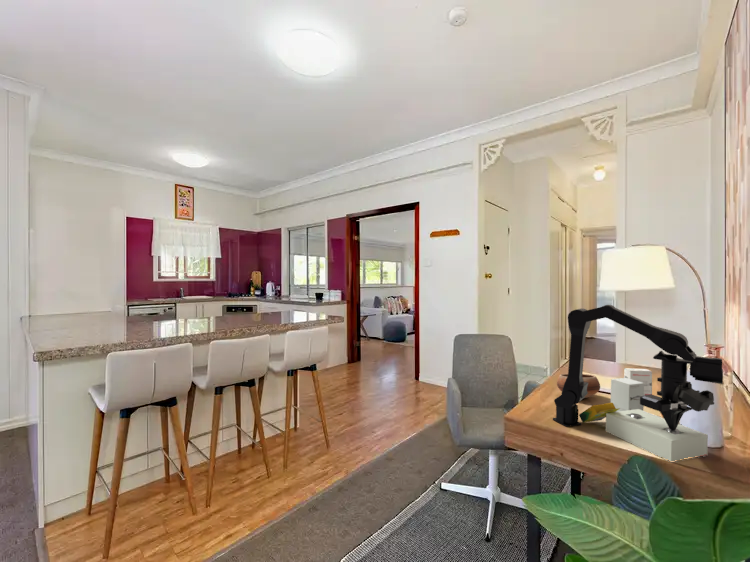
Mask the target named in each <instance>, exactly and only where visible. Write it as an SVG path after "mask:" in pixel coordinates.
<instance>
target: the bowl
mask: <svg viewBox="0 0 750 562" xmlns="http://www.w3.org/2000/svg"><path fill="white" fill-rule="evenodd" d="M567 376H568V373H560V374H559V376H558V377H557V380H556V386H557V387H558V390H560V391H561V392H562V390H563V386H564V383H565V381H566V379H567ZM582 377H583V381H584V382H588V386H587V392H588V394H587V395H586V396H585V397H584V398H583V399H586V398H589V397H593V396H595V395H596V394H597V393H598V392H599V391H600V389H601V384H600V382H599V379H598V378H597V376H595V375H593V374H588V373H582Z"/></svg>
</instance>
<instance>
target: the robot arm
mask: <svg viewBox="0 0 750 562" xmlns="http://www.w3.org/2000/svg"><path fill="white" fill-rule="evenodd" d="M605 318H606V319H609V320H611V321H612V322H614V323H617V324H619V325H621V326H623V327H624V328H627V329H629V330H630V331H632V332H635V333H637V334H639V335H641V336H642V337H645V338H646V339H648V340H649V341H650V342H652V344H654V345H655V346H657V347H658V348H660V349H661V350H659V352H658V353H656V354H654V355H653V357H652V359H654V360H658V361H661V363H660V364H661V370H660V375H661V376H659V377H657V378H656V379H657V380H656V381H657V382H659V383H660V390H658V391H656V395H655V394H653V393H652V394H651V395H643V396H641V397H640V405H643V406H644V407H646V408H649V409H652V410H654V411H657V412H660V414H661V415H662V418H664V419H665V421H666V423H667V425H668V427H669V429H671V430H676V428H677V426H678V424H680V421H681V419H682V418H683V415H684V414H685V413H687V412H689V411H696V412H702V411H708V410H709V408H710V406H712V405H715V402H714V401H715V397H714V396H715V395H714V393H713V392H712V391H710V390H708V389H707V390H702V391H700V390H696V389H693V387H692V386H693V385H692V383H691V381H688V364H689V376H691V377H692V378H694V380H695V381H700V382H706V383H712V384H719V385H724V383H723V381H724V369H723V359H722V358H720V357H719V358H718V357H706V356H697V354H696V352H695V351H693V350H692V348H691V347H690V346H689V341H688V340H689V339H687V336H685V335H684V334H682V333H679V332H677V331H674V330H671V329H668V328H663V327H659V326H656V325H653V324H651V323H649V322H646V321H645V320H642V319H640V318H639V317H636V316H633V315H631V314H630V313H627V312H625V311H623V310H621V309H619V308H617V307H616V306H614V305H611V304H604V305H601V306H600V307H595V308H591V309H587V308H578V309H574V310H571V311H570V312H569V313H568V314H567V324H568V330H569V333H570V345H569V346H570V347H569V358H568V369H567V374H568V376H567V379H566V381H565V383H564V386H563V390H562V391H561V394H560V395H559V396H557V397H556V398H554V399H553V401H554V404H555V406H556V409H555V417H552V421H555V422H557V423H558V424H560V425H563V426H564V427H567V428H568V427H569V428H570V427H574V426H581V425H582V422H579V405H577V404H579V402H581V401H582V400H583V399H585V398H584V397H585V396H586V395H587V394H588V392H587V386H588V382H584V381H583V377H582V374H584V373H583V372H584V361H585V360H584V359H585V347H586V338H587V334H588V332H589V329H590V326H591V323H592V322H593V321H597V320H601V319H605ZM663 351H664V352H666V353H664V352H663Z"/></svg>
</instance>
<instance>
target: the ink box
mask: <svg viewBox="0 0 750 562" xmlns="http://www.w3.org/2000/svg"><path fill="white" fill-rule="evenodd" d="M623 370H624V371H623V373H624V374H623V378H628V379H632V380H635V381H639V382H642V383H644V395H651V394H652V395H653V371H651V370H649V369H647V368H633V367H632V368H631V367H630V368H629V367H628V368H626V367H625V368H624V369H623Z"/></svg>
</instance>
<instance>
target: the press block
mask: <svg viewBox="0 0 750 562" xmlns="http://www.w3.org/2000/svg"><path fill="white" fill-rule="evenodd" d="M631 413H635V414H639V415H641V416H642V419H635V418H633V417H630V414H631ZM667 427H668V425H667V423H666V421H665V419H664V417H661V416H659V415H656V414H653V413H651V412H647V411H645V410H644V409H643V410H640V409H635V410H627V411H619V412H611V413H606V417H605V432H606V431H607V433H608V432H609V434H610V433H611V435H613V436H614V437H617V438H619V439H621V440H623V441H625V442H626V443H630V444H631V443H632V445H633V446H636V447H638V448H640V449H642V448H643V449H642V450H644V449H645V450H644V451H646V450H647V451H646V452H648V451H649V452H648V453H650V452H651V454H652V453H653V455H654V454H655V456H657V455H658V456H657V457H659V456H660V457H659V458H661V457H663V458H665V459H668V460H670V461H675V460H680V459H684V458H688V457H695V456H700V455H704V454H707V455H708V446H709V445H708V444H709V443H708V441H709V440H708V439H709V438H708V437H709V435H708V434H707V433H704V432H702V431H698V430H696V429H693V428H690V427H688V426H685V425H682V424H680V423H678V426H677V428H676V429H678V430H679V434H673V433H670V432H668V431H666V428H667ZM663 458H662V459H663ZM665 459H664V460H665Z"/></svg>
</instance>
